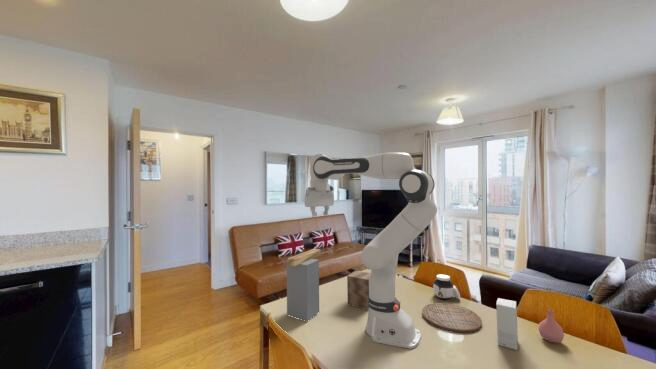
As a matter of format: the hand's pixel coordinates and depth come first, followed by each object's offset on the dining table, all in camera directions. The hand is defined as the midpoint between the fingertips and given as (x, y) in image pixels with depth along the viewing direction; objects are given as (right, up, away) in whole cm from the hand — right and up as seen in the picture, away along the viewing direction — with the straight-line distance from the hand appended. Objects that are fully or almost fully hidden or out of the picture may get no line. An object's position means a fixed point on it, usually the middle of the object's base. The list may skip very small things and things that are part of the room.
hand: (320, 215), depth 127 cm
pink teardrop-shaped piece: (+92, -47, -25) cm, 106 cm away
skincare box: (+74, -47, -26) cm, 91 cm away
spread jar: (+70, -47, +16) cm, 86 cm away
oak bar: (-7, -22, +1) cm, 23 cm away
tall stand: (-8, -48, -1) cm, 48 cm away
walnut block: (+22, -48, +10) cm, 53 cm away
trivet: (+61, -48, -6) cm, 77 cm away
